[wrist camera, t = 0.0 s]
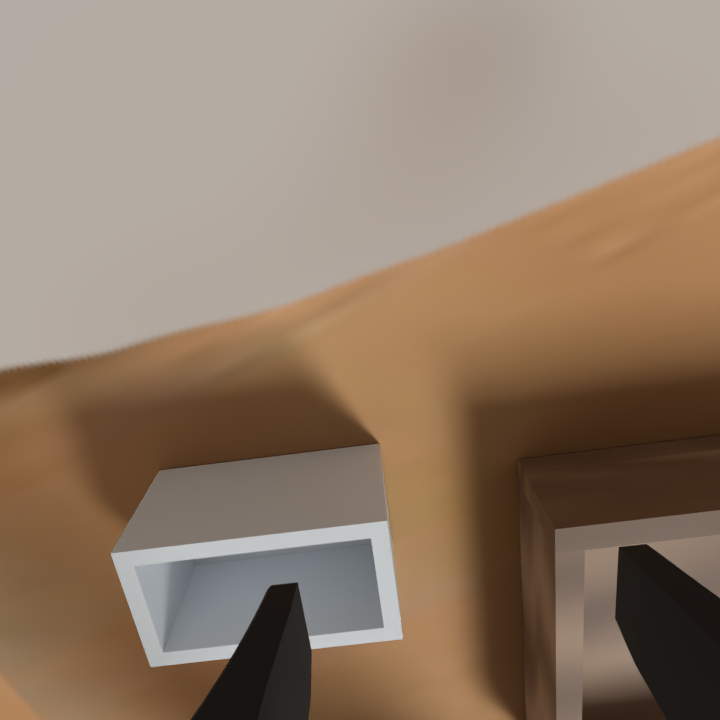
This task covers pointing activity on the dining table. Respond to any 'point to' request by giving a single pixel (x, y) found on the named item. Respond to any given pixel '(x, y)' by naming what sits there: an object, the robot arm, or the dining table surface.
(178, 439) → the dining table surface
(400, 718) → the dining table surface
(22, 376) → the dining table surface
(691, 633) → the robot arm
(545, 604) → the walnut crate
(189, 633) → the box
